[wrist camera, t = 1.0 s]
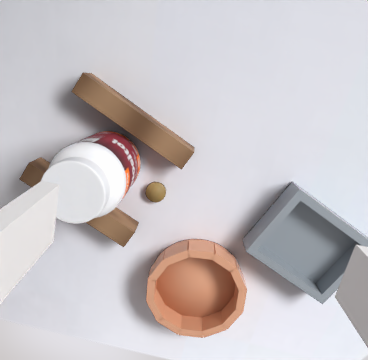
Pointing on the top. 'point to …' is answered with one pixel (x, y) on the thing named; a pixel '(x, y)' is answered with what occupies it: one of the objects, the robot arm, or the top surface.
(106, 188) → the pill bottle
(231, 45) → the top surface
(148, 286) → the terracotta round dish
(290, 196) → the trough
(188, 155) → the cradle
